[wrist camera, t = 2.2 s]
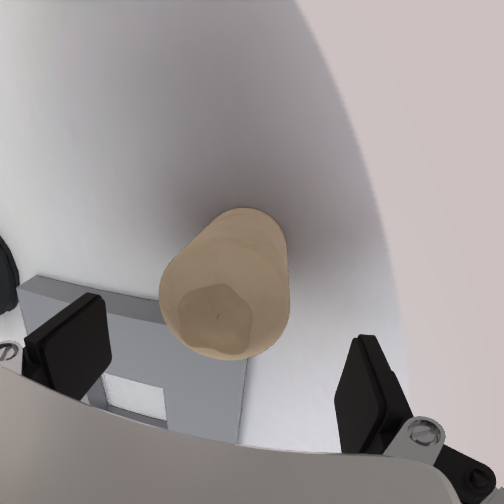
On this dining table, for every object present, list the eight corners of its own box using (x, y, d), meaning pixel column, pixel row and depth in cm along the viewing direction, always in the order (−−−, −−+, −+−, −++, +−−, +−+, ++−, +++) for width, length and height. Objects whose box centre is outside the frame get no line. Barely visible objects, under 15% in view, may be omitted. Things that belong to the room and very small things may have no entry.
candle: (302, 258, 20) (318, 343, 11) (236, 299, 22) (205, 397, 12) (255, 189, 19) (229, 221, 10) (188, 237, 21) (119, 302, 11)
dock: (36, 275, 23) (16, 287, 20) (252, 315, 22) (248, 338, 19) (76, 421, 29) (66, 437, 26) (234, 464, 28) (230, 485, 25)
